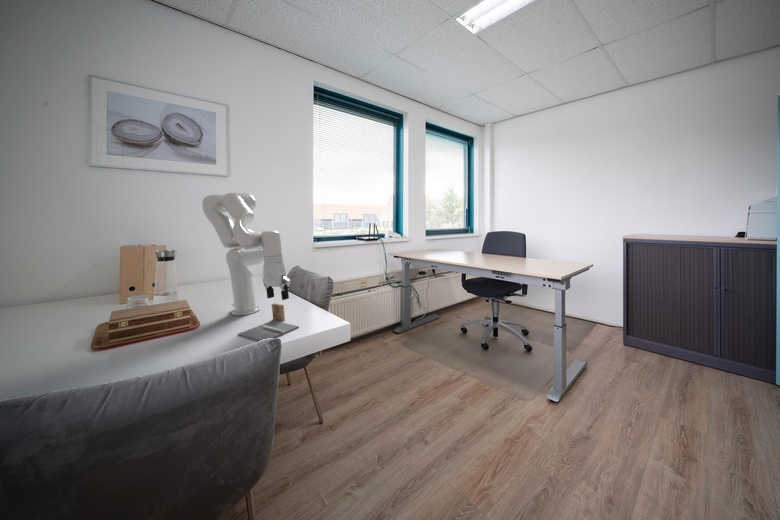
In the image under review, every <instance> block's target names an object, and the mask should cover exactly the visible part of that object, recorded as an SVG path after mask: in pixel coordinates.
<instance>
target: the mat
mask: <svg viewBox="0 0 780 520" xmlns="http://www.w3.org/2000/svg"><path fill="white" fill-rule="evenodd" d="M299 328H300V327H299V325H294V324H290V323H285V322H283V321H278V320H272V321H271V320H270V321H269V322H266V323H263V324H261V325H258V326H255V327H252V328H249V329H247V330H244V331H243V332H239V333H238V334H237V335H238V336H241V337H243V338H247V339H250V340H252V341H253V340H254V341H256V342H260V340H263V339H267V338H274V337H276V338H279V337H280V336H283V335H286V334H287V333H288V334H289V333H290V332H292V331H294V330H296V329H299ZM274 339H275V338H274Z"/></svg>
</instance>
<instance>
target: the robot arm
mask: <svg viewBox="0 0 780 520" xmlns="http://www.w3.org/2000/svg"><path fill="white" fill-rule="evenodd" d="M201 205H202V211H203V213H204V215H205V217H206V219H207V220H208V221H209V222H210V223H211V225H212V227H213V228H214V230H215V232H216V234H217V236H218V238H219V241H220V242H221V244H222V246H223V247H224V248H225V249H229V250H228V251H227V252H226V253H225V260H226V264H227V267H228V270H229V274H230V283H231V288H232V298H233V303H232V305H231V306H232V307H233V308H234V309H233V310H231V312H230V313H231V315H232V316H236V317H237V316H248V315H252V314H255V313H257V312H259V311H260V309H261V308H260V306H259V305H257V304H256V302H257V301H256V291H255V283H254V276H253V274H252V272H251V271H250V270H249V268H248V267H253V266H259V265H261V264H263V267H262V268H263V269H262V273H263V274H262V275H263V277H262V278H261V279H262V283H263V286H264V288H265V290H266V298H267V299H271V298H274V297H275V290H274V288H275V287H276V288H278V287H279V288H280V289H281V291H280V294H281V300H282V301H285V300H288V299H289V298H290V294H289V289H290V286H291V285H290V284H291V279H290V278H288V277H287V272H286V267H285V264H284V259H283V251H282V243H281V242H282V241H281V235H280V232H279V231H278V230H261V231H259V230H258V231H253V230H252V229H249V228H245V227H246V226H248V225H249V224H251V223H252V222H253V220H254V219H255V216H254V215H255V214H254V212H253V210H254V209H256V207H257V206H256V205H257V202H256V199H255V197H254V196H253V195H252V194H250V193H247V192H246V193H245V192H228V193H225V194H209V195H207V196H205V197H204V198H203V199H202V203H201ZM224 213H228V214H229V216H230V217H231V219H230V217H228V216H227V215H225V214H224ZM232 220H233V221H232ZM273 287H274V288H273Z"/></svg>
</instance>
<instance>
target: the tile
mask: <svg viewBox="0 0 780 520" xmlns="http://www.w3.org/2000/svg"><path fill="white" fill-rule="evenodd" d="M271 310H272V319H273V321H277V322H284V321H286V316H285V306H284V304H280V303H275V302H274V303H271Z"/></svg>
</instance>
